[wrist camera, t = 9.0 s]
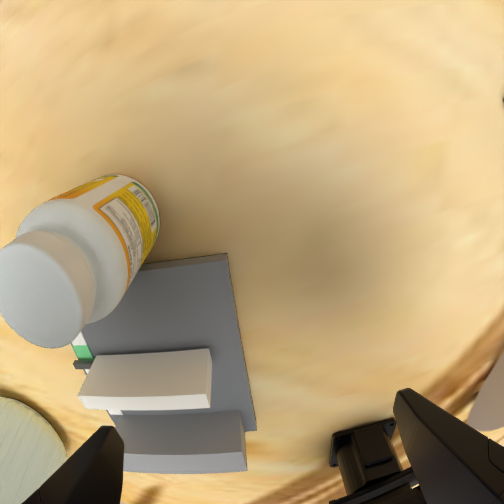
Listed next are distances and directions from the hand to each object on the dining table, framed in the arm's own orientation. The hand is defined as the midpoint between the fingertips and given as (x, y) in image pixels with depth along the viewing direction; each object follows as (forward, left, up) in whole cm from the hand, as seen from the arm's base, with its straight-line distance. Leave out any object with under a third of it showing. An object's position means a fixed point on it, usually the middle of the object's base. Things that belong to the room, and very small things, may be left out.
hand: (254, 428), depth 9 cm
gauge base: (-7, +7, -11) cm, 15 cm away
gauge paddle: (-5, +8, -10) cm, 14 cm away
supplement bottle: (+4, +7, -12) cm, 14 cm away
